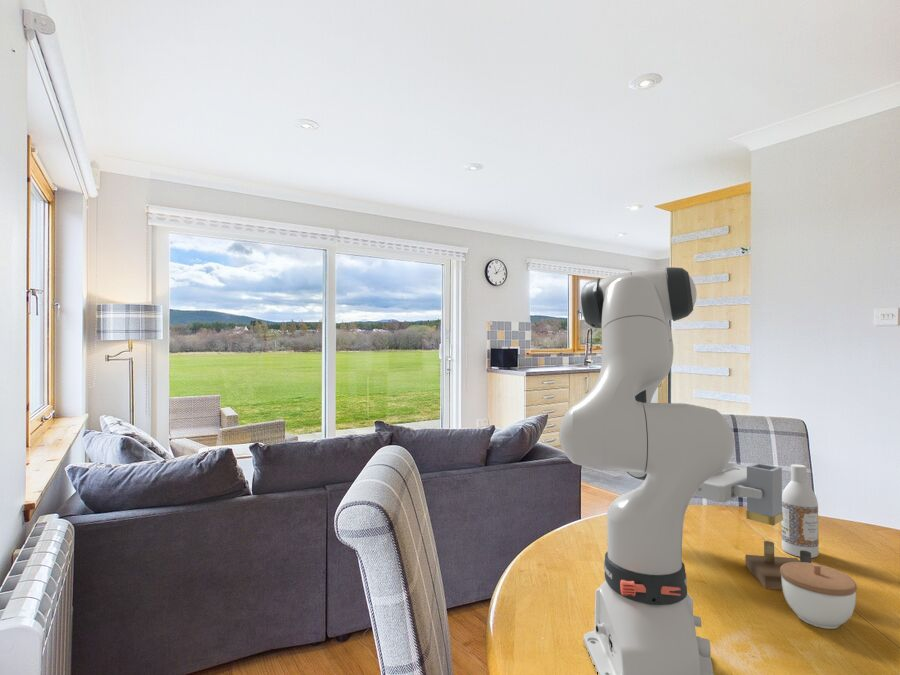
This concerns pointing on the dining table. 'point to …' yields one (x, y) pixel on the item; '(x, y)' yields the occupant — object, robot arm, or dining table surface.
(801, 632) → the dining table surface
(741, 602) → the dining table surface
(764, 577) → the pin block
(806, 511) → the bath foam
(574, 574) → the dining table surface
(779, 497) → the sleeve
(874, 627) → the dining table surface
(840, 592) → the lidded jar
